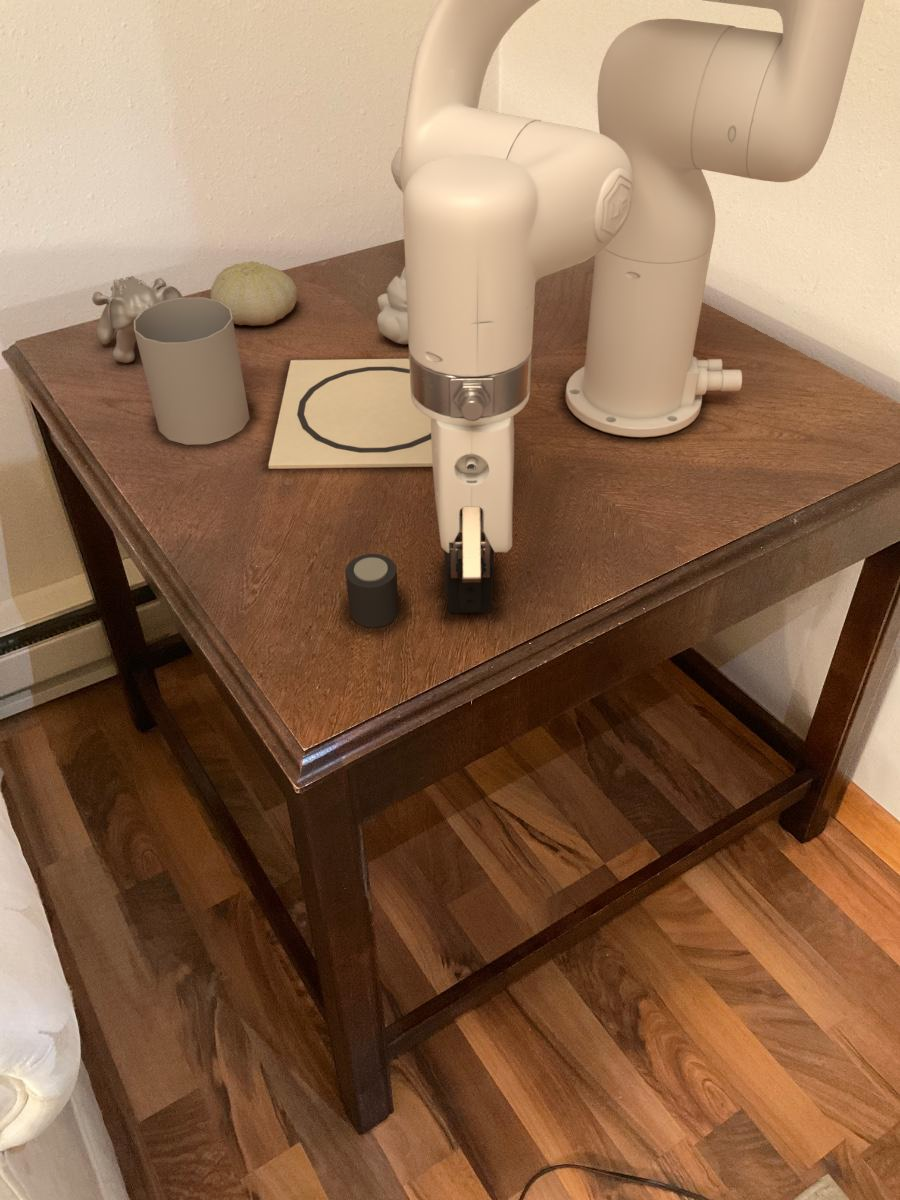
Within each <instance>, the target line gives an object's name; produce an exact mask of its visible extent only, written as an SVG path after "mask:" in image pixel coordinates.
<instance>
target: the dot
mask: <svg viewBox="0 0 900 1200" xmlns="http://www.w3.org/2000/svg"><path fill="white" fill-rule="evenodd" d="M397 571H398V570H397V566H396V563H395V562H394V561H393V560H392V559H391V558H389V557H388V556H385V555H383V554H378V553H368V554H367V553H365V554H362V555H358V556H357V557H355V558H353V559H351V561H349V563H348V564H347V565H346V568H345V578H346V591H347V600H348V608H349V609H348V610H349V615H350V617H351V619H352V621H353V622H354V623H356V624H357V625H359V626H361V627H364V628H371V629H373V628H374V629H376V628H382V627H386V626H387V625H389V624H391V623H393V622H394V620H396V618H397V617H398V615H399V613H400V603H399V590H398V573H397Z"/></svg>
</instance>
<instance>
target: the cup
mask: <svg viewBox="0 0 900 1200" xmlns="http://www.w3.org/2000/svg"><path fill="white" fill-rule="evenodd" d="M134 332H135V336H136V344H137V348H138V352H139V356H140V359H141V363H142V368H143V372H144V375H145V380H146V384H147V388H148V392H149V396H150V401H151V404H152V408H153V409H152V410H153V413H154V417H155V420H156V424H157V429H158V432H159V433H161V434H162V435H163V436H164V437H165V439H167V440H168V441H171V442H175V443H179V444H183V445H186V446H187V445H188V446H189V445H194V446H195V445H210V444H213V443H217V442H221V441H224V440H227V439H228V440H229V438H231V437H233V436H234V435H236V434H238V433H239V432H241V431H243V430H244V428H245V426H246V425H247V423H248V422H249V420H250V419H251V418H250V412H249V407H248V400H247V395H246V389H245V383H244V376H243V371H242V366H241V365H242V364H241V360H240V353H239V348H238V342H237V337H236V331H235V324H233V318H232V313H231V309H230V308H229V307H227V306H226V305H224V304H223V303H222V302H220V301H216V300H212V299H211V298H207V297H201V296H199V297H197V296H196V297H195V296H194V297H183V298H177V299H173V300H168V301H164V302H160V303H157V304H155V305H153V306H151V307H149V308H147V309H145V310H143V311H142V312H141V313H140V314H139V315H138V316H137V318H136V319H135V320H134Z"/></svg>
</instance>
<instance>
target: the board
mask: <svg viewBox="0 0 900 1200" xmlns="http://www.w3.org/2000/svg"><path fill="white" fill-rule="evenodd" d="M288 367H289V368H288V372H287V377H286V380H285V381H286V382H285V386H284V389H283V390H284V391H283V395H282V399H281V404H280V409H279V413H278V419H277V422H276V423H277V424H276V428H275V433H274V438H273V442H272V446H271V451H270V455H269V461H268V469H269V470H276V469H277V470H279V469H289V470H291V469H348V468H349V469H351V468H352V469H353V468H354V469H357V468H360V469H361V468H424V467H425V468H429V467H432V468H433V462H432V441H431V418H430V417H428V416H426V415H425V414H423V413H422V412H420V411H419V410H418V409H417V408H416V406H415V405H414V404H413V402H412V399H411V388H410V366H409V358H361V359H359V358H357V359H355V358H353V359H352V358H351V359H350V358H349V359H292V360H291V359H290V363H289V366H288Z"/></svg>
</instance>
